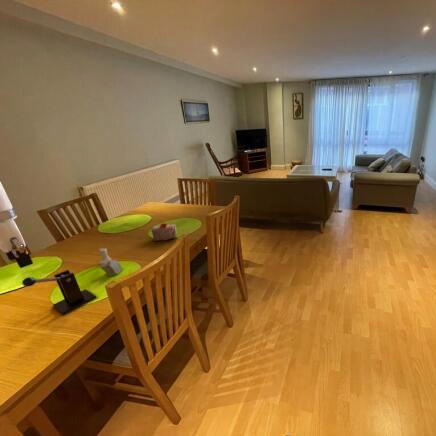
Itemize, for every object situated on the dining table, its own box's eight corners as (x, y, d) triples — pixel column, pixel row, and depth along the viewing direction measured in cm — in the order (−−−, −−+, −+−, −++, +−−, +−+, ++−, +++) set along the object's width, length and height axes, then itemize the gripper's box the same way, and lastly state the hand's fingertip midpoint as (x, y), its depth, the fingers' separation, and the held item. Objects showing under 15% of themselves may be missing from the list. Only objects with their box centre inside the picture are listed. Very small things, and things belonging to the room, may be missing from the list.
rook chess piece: (101, 265, 123) (96, 252, 120) (102, 261, 126) (97, 248, 123) (111, 263, 125) (107, 249, 122) (112, 259, 129) (108, 246, 126)
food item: (178, 234, 157) (175, 220, 153) (177, 239, 150) (174, 225, 146) (155, 237, 153) (152, 223, 149) (153, 242, 146) (149, 228, 142)
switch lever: (23, 288, 82) (25, 279, 82) (19, 285, 84) (21, 276, 84) (70, 282, 94) (72, 274, 94) (67, 280, 95) (68, 272, 95)
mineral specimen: (100, 272, 116) (100, 257, 115) (122, 270, 121) (122, 255, 119) (98, 279, 110) (97, 264, 108) (120, 277, 115) (120, 262, 113)
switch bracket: (63, 315, 92) (50, 285, 86) (53, 306, 96) (40, 278, 90) (96, 297, 100) (86, 270, 95) (86, 291, 105) (75, 264, 99)
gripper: (-29, 214, 77) (-3, 260, 83) (-12, 225, 69) (14, 274, 75) (5, 207, 83) (26, 251, 89) (24, 216, 75) (46, 263, 81)
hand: (21, 261), depth 82 cm, fingers open, 9 cm apart
